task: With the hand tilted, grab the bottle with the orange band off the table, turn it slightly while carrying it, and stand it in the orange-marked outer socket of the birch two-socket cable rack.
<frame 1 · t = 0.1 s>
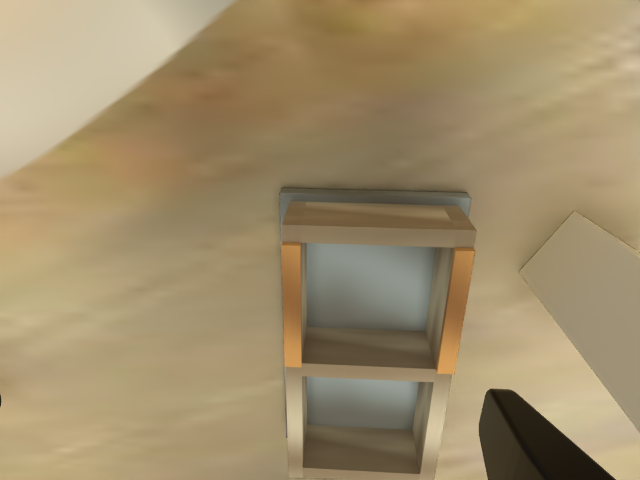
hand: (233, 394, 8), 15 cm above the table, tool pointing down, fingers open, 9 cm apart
bottle: (575, 261, 22), on the table
rack: (364, 326, 25), on the table
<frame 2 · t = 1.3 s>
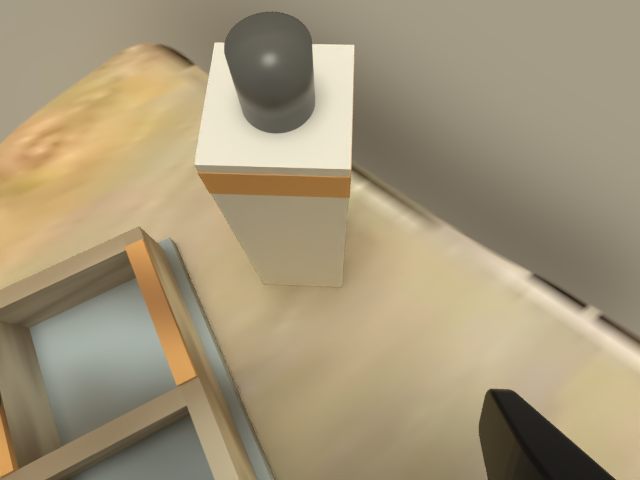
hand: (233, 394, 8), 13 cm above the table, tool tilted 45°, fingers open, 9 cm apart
bottle: (305, 248, 23), on the table
rack: (144, 430, 20), on the table
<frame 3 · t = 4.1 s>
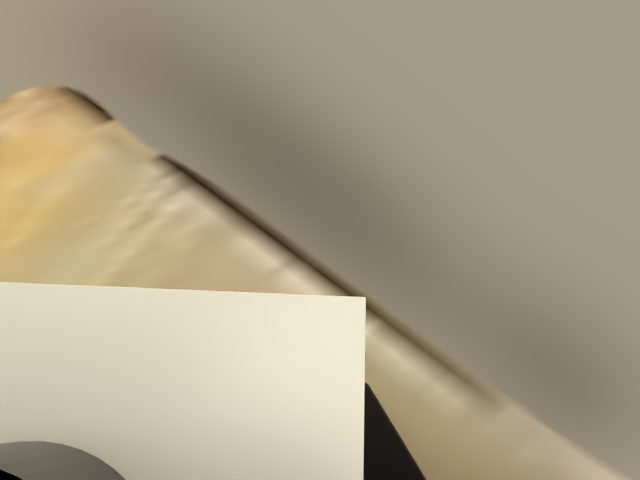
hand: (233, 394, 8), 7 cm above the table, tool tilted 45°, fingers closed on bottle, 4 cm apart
bottle: (273, 447, 14), on the table, touching gripper
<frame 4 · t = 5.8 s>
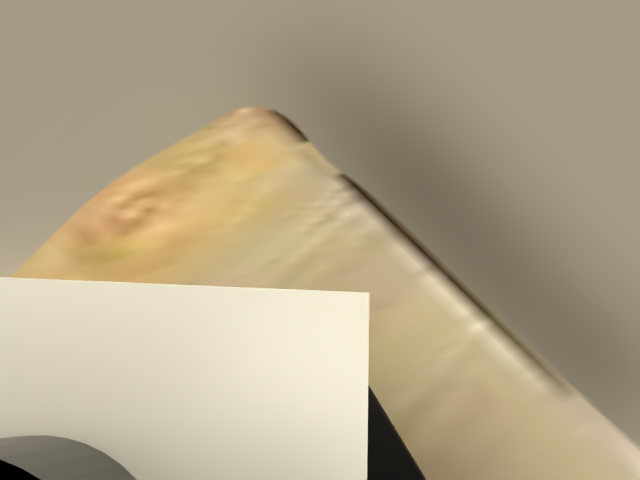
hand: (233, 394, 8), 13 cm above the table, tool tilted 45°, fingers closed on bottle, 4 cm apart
bottle: (274, 445, 14), point 6 cm above the table, touching gripper
when the fingers open (9 cm above the table, at t = 7.5 s): bottle drops 1 cm, resting on rack.
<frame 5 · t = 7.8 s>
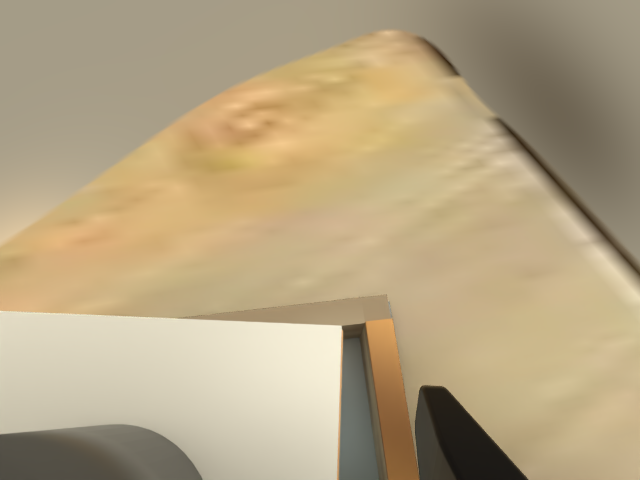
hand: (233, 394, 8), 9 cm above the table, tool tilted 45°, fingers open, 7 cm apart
bottle: (277, 440, 15), point 1 cm above the table, touching rack
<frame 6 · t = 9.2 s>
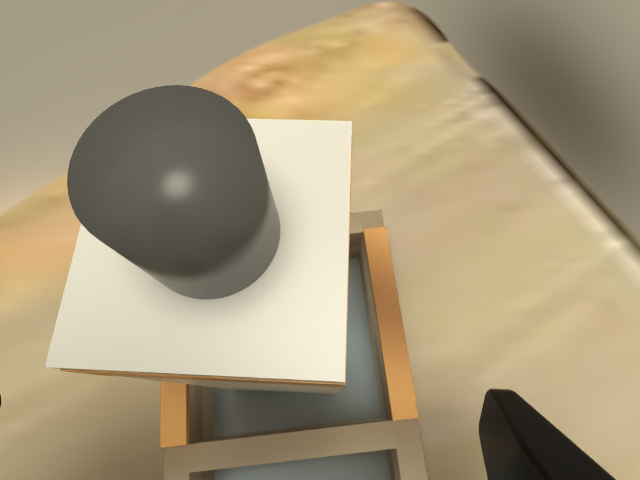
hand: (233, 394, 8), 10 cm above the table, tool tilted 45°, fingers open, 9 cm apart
bottle: (289, 340, 18), point 1 cm above the table, touching rack
rack: (300, 437, 17), on the table
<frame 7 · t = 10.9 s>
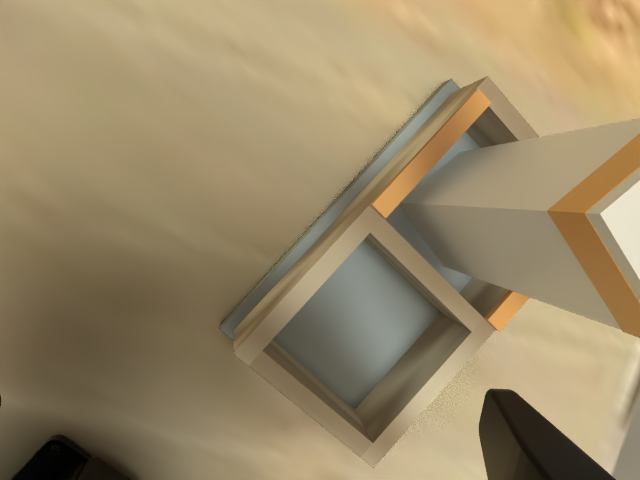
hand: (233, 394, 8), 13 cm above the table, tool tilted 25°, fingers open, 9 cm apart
bottle: (451, 209, 22), point 1 cm above the table, touching rack
rack: (397, 262, 22), on the table
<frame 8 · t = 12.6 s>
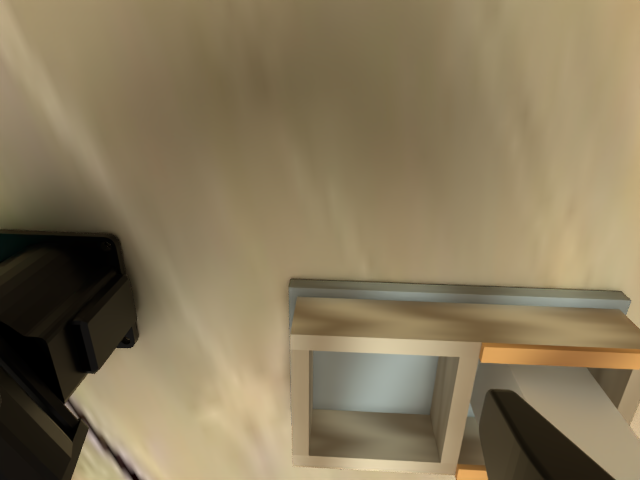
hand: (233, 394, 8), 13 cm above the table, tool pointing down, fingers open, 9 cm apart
bottle: (517, 371, 22), point 1 cm above the table, touching rack
rack: (441, 358, 23), on the table
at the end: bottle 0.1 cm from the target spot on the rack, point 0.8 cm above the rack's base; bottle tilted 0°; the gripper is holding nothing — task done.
